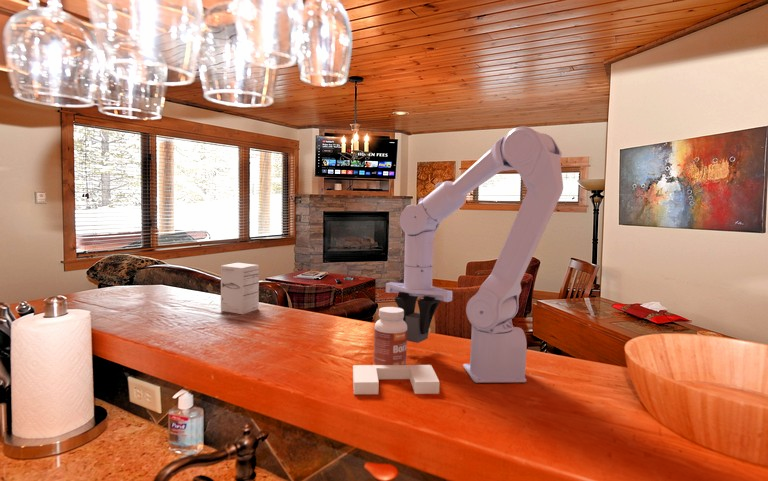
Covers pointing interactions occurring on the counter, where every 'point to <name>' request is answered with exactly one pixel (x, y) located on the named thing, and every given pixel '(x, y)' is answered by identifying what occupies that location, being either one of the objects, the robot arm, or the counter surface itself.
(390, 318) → the pill bottle
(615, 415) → the counter surface
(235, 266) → the supplement box
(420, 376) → the notched board
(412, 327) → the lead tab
